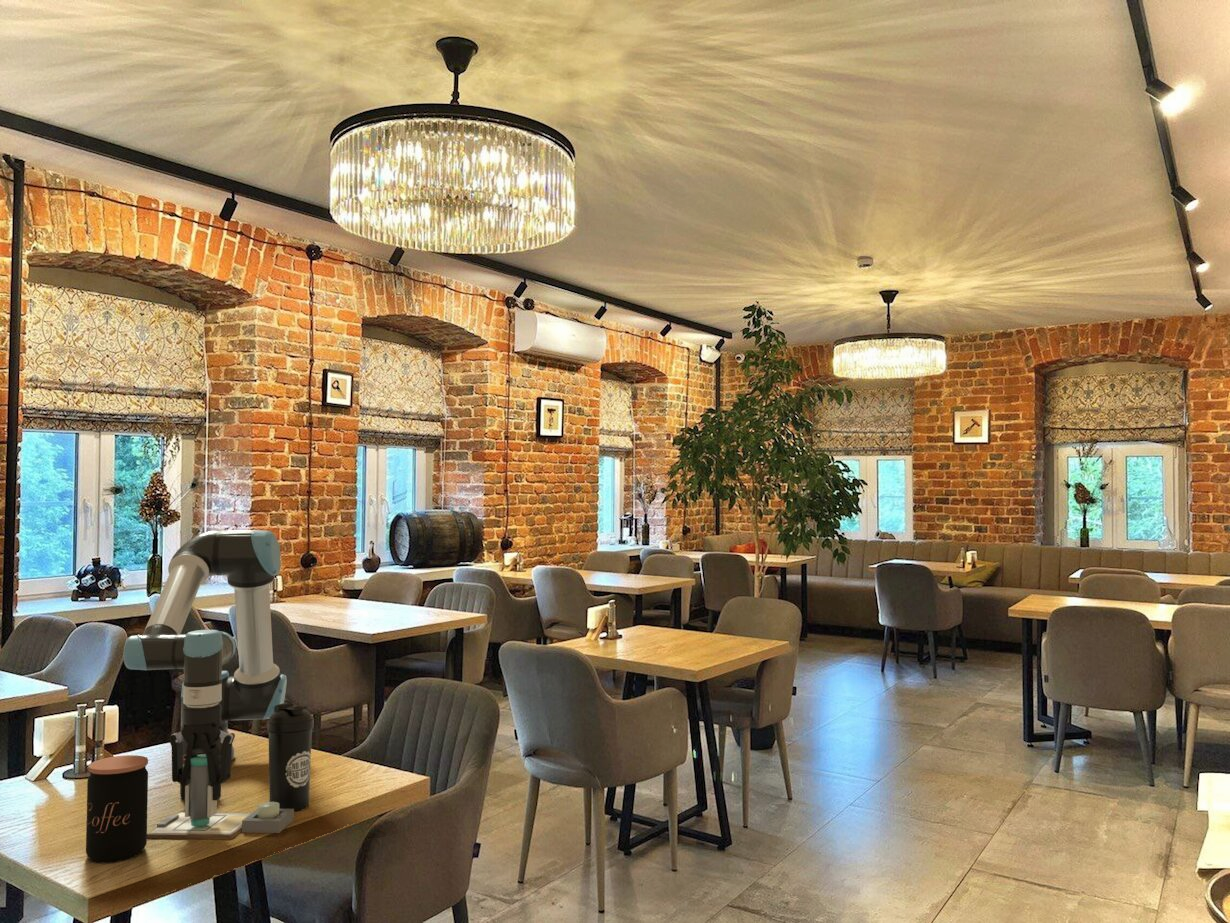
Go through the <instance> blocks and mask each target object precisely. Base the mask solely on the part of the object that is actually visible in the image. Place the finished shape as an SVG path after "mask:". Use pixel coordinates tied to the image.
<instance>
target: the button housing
mask: <svg viewBox="0 0 1230 923" xmlns="http://www.w3.org/2000/svg"><path fill="white" fill-rule="evenodd" d="M257 812H258V808H255V810H254V811H252V812H250V813H251V814H250V815H249V816H247V817H246V818H245V819H243V820H242V831H241V833H242V834H243V833H244V832H246V833H245V834H247V833H248V834H251V833H252V834H253V833H254V834H255V833H257V834H280V833H281V832H282V831H283V830H285V828H287V827H288V826H289V825H290V824H291V823H292V822H294V820H295V819H294V818H295V817H294V816H295V814H294V813H295V812H294V809H279V816H278V817H276V818H275V819H269V818H257Z"/></svg>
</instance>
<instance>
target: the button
mask: <svg viewBox="0 0 1230 923" xmlns="http://www.w3.org/2000/svg"><path fill="white" fill-rule="evenodd" d="M257 809H258V812H257V818H269V819H275V818H276V817H278V816H279V803H278V802H270V801H266V802H261V803H260V804H258V805H257Z"/></svg>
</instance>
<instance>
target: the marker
mask: <svg viewBox="0 0 1230 923" xmlns="http://www.w3.org/2000/svg"><path fill="white" fill-rule="evenodd" d="M210 784H211V779H210V774H209V768H208V763H207V758H206V754H200V755H196V756H194V757H192V758H191V778H190V819H191V826H204V825H207V824H209V822H210V817H207V798H208V786H209V785H210Z"/></svg>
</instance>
